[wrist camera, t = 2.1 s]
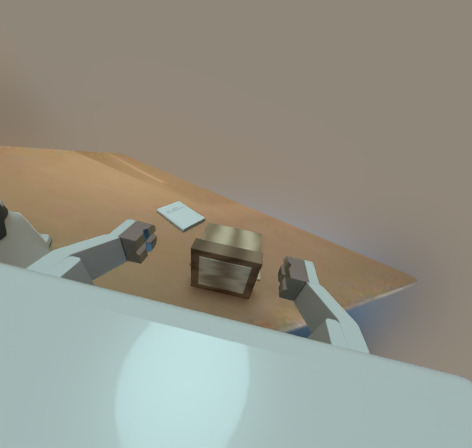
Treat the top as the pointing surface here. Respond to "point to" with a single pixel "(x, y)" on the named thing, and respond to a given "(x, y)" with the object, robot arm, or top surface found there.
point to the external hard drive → (181, 216)
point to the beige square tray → (233, 238)
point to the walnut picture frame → (224, 268)
